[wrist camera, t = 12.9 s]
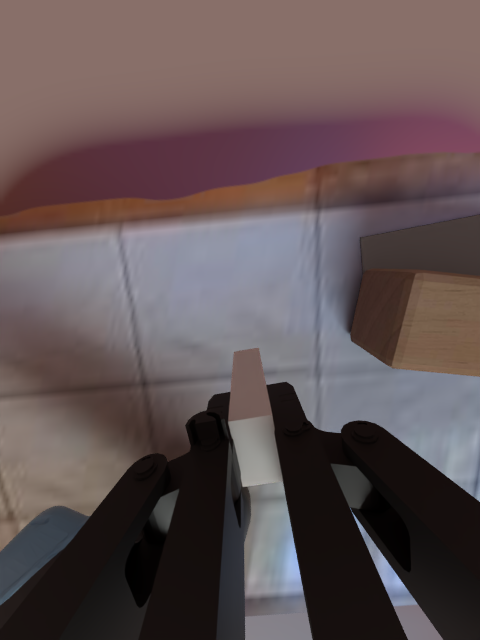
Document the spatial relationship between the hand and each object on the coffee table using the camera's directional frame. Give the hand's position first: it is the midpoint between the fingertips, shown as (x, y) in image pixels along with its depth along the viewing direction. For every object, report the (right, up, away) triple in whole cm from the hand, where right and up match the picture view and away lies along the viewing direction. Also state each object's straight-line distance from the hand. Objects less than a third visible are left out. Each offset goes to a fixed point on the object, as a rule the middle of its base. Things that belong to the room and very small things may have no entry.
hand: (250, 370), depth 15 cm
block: (+14, +4, +13) cm, 20 cm away
